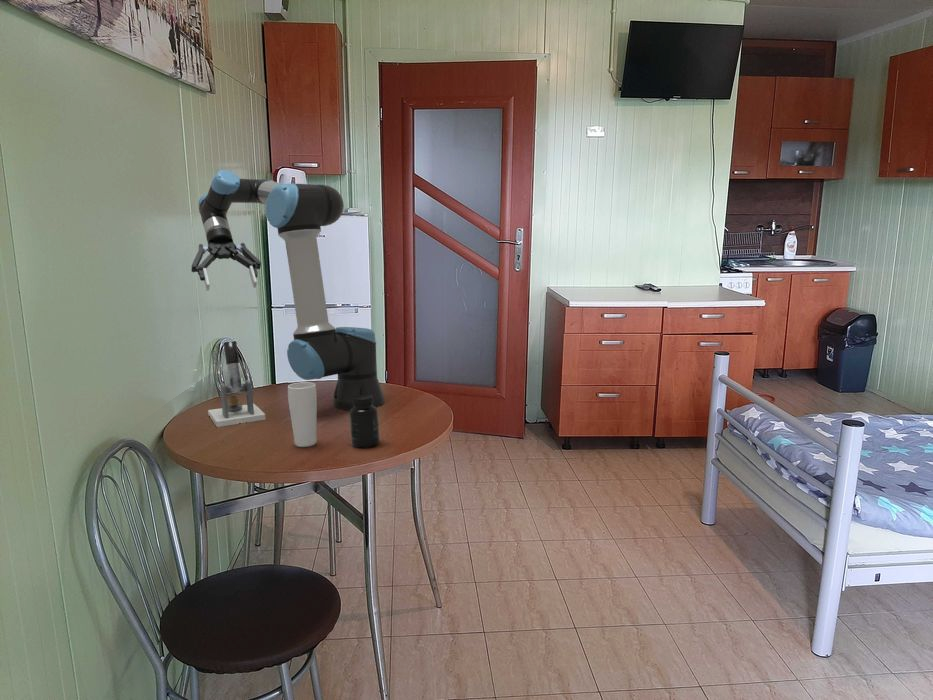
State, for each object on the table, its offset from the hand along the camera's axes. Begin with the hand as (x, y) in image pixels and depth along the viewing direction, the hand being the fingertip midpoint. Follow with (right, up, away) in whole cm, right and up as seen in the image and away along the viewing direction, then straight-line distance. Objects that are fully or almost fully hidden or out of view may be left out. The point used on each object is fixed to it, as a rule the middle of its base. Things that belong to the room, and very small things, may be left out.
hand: (232, 286), depth 204 cm
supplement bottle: (+45, -42, -37) cm, 72 cm away
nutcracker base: (+5, -38, -11) cm, 40 cm away
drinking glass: (+31, -43, -36) cm, 64 cm away
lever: (+5, -31, -12) cm, 34 cm away
